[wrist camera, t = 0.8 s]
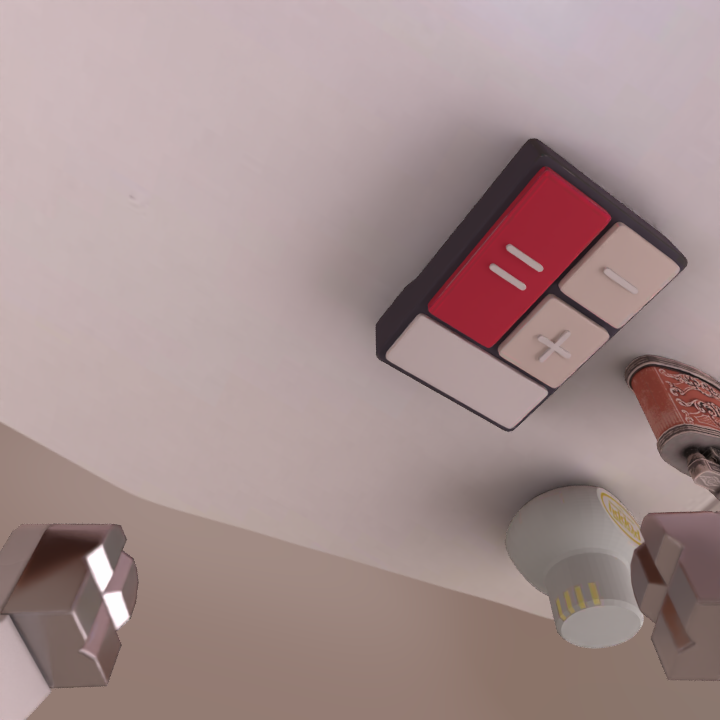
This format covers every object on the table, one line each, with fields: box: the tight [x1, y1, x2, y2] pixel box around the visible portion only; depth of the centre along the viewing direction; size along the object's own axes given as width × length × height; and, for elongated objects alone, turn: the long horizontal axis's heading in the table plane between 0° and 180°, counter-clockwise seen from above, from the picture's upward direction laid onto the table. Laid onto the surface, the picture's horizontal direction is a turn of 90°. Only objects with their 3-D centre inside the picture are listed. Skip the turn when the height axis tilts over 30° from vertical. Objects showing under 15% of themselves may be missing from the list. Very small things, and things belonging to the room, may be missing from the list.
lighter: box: [624, 355, 720, 500], centre depth 40 cm, size 8×3×10 cm, turn 65°
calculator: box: [376, 139, 687, 432], centre depth 38 cm, size 11×4×15 cm
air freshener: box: [505, 485, 645, 648], centre depth 48 cm, size 11×8×10 cm
